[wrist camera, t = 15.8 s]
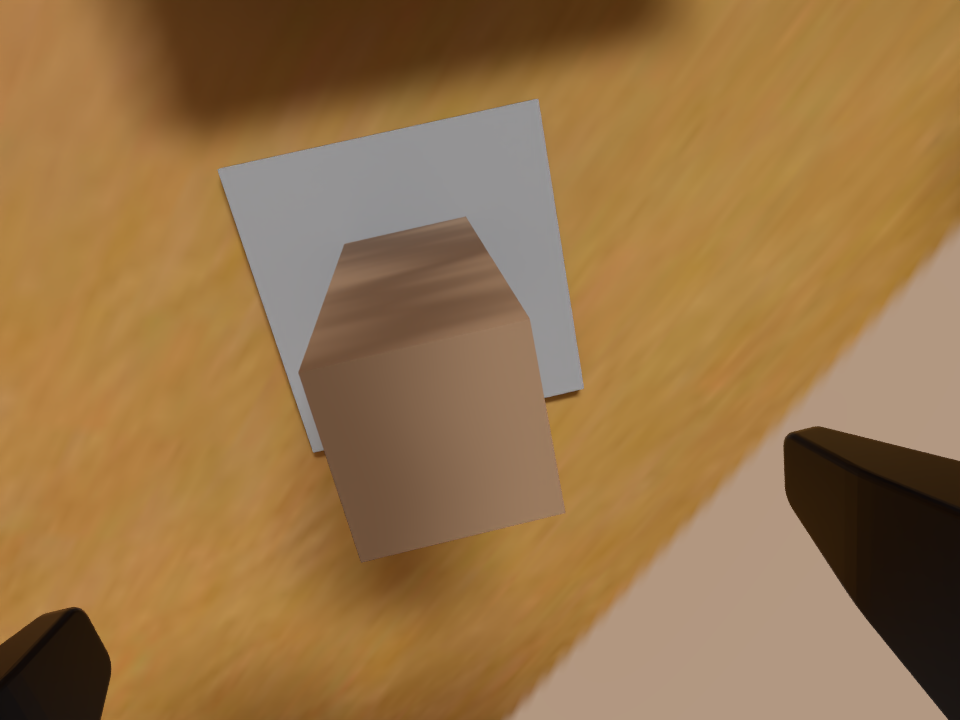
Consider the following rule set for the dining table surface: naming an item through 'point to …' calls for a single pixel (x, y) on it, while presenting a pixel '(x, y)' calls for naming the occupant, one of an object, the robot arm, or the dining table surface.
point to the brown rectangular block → (428, 393)
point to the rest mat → (408, 222)
